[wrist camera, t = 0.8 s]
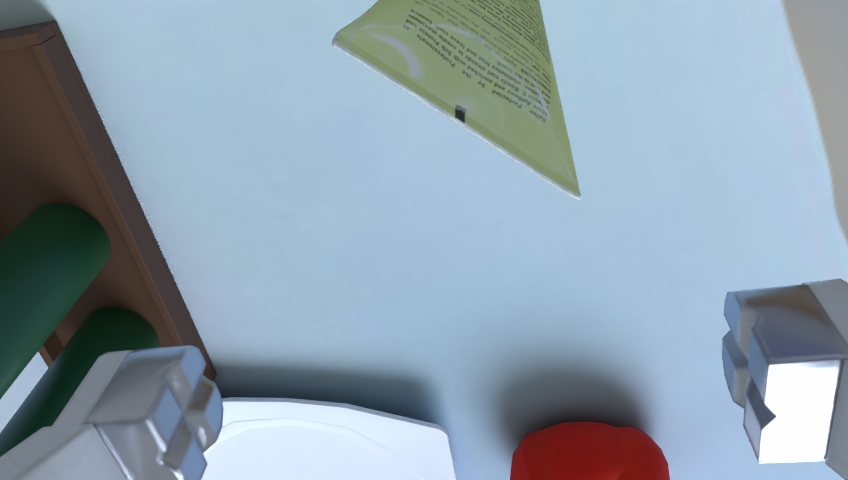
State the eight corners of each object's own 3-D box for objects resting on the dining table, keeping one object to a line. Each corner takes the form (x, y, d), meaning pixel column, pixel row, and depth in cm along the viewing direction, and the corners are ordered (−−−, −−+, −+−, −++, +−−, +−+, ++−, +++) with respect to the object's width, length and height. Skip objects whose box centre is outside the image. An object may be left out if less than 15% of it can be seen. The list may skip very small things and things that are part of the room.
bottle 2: (70, 311, 47) (-141, 581, 31) (141, 303, 46) (-37, 576, 30) (102, 368, 50) (-76, 644, 34) (171, 362, 49) (21, 641, 33)
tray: (-113, 51, 38) (-141, 63, 37) (56, 20, 37) (35, 32, 35) (86, 386, 52) (72, 407, 50) (217, 374, 50) (207, 395, 48)
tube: (421, 22, 36) (371, 223, 19) (404, -87, 33) (328, 41, 17) (534, 5, 35) (582, 202, 18) (526, -107, 32) (572, 6, 16)
